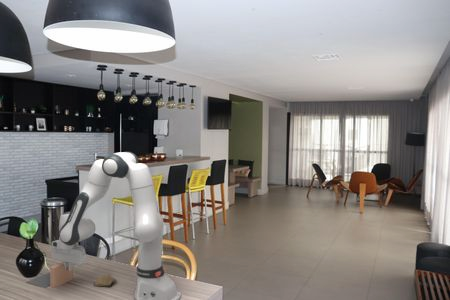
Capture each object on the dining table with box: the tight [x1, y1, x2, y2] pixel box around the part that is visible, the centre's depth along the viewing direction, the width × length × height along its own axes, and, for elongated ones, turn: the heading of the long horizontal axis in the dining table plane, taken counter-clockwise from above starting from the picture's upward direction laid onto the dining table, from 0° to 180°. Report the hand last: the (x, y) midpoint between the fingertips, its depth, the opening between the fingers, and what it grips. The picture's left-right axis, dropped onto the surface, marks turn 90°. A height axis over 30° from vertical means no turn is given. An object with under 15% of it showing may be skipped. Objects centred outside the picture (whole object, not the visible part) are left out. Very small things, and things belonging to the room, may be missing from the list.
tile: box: [49, 261, 75, 289], centre depth 184 cm, size 3×12×10 cm, turn 157°
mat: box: [25, 271, 50, 289], centre depth 188 cm, size 14×16×1 cm
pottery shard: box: [93, 274, 117, 287], centre depth 184 cm, size 11×4×10 cm
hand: (68, 270), depth 182 cm, fingers closed
